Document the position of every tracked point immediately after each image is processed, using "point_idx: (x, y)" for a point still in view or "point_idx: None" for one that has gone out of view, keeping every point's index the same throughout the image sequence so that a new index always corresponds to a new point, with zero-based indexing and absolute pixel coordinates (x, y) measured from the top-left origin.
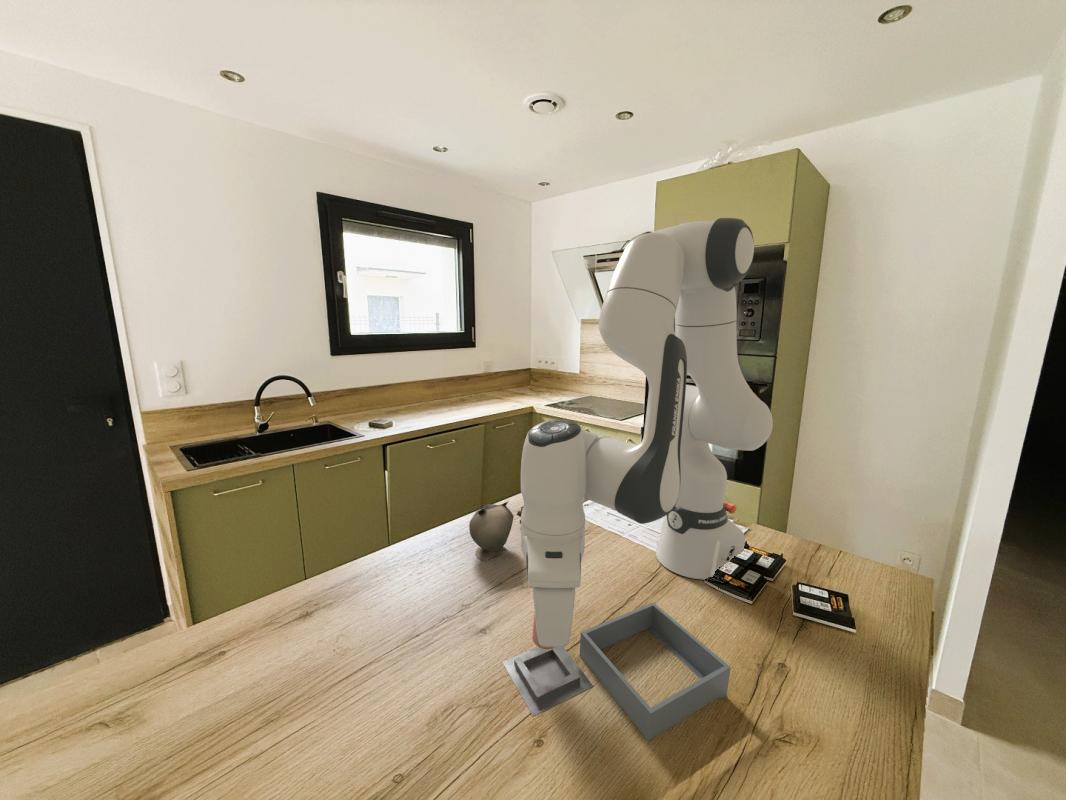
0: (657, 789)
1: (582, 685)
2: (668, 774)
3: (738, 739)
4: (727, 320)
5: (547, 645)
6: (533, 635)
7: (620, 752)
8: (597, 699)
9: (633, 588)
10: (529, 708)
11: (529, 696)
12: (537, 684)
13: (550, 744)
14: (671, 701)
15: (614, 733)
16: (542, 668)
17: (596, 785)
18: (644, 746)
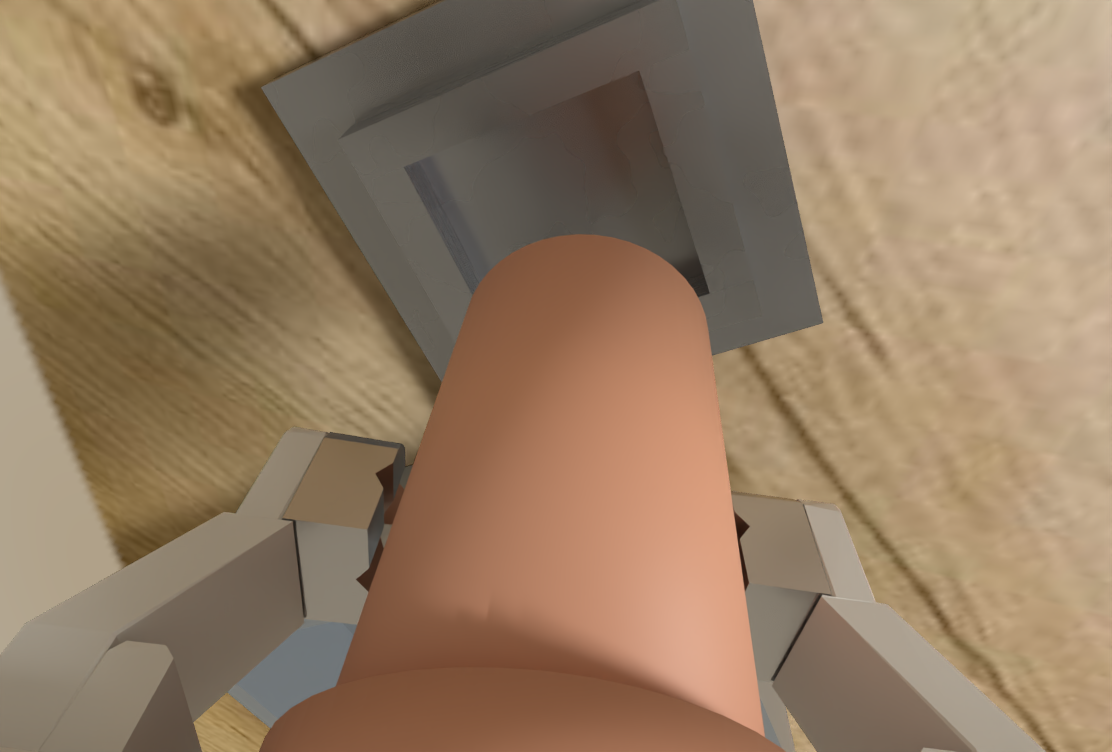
0: (95, 493)
1: None
2: (155, 533)
3: None
4: None
5: None
6: (557, 266)
7: (196, 430)
8: (428, 413)
9: (1041, 693)
10: (309, 70)
11: (397, 80)
12: (486, 146)
13: (161, 160)
14: (246, 707)
15: (272, 432)
16: (609, 196)
17: (37, 319)
18: (238, 504)
